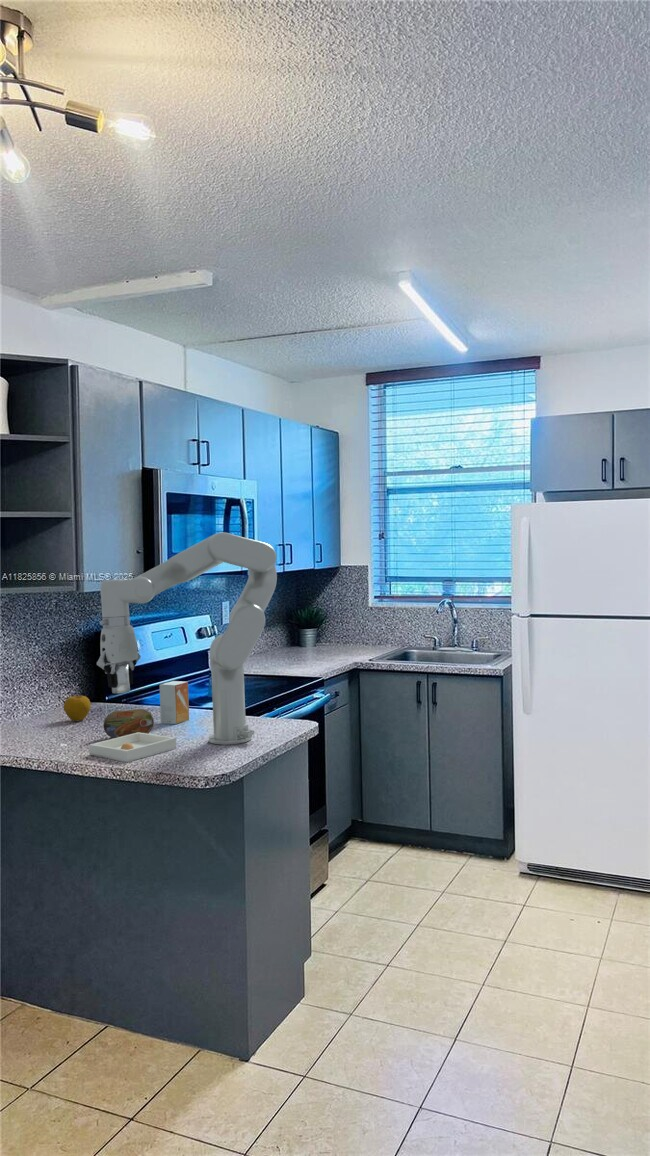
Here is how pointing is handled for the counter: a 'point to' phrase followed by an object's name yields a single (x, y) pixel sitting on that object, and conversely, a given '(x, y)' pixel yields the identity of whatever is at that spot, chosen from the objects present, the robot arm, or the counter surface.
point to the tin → (128, 722)
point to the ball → (127, 746)
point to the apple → (77, 707)
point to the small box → (174, 702)
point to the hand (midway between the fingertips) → (120, 685)
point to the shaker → (122, 678)
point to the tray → (141, 743)
